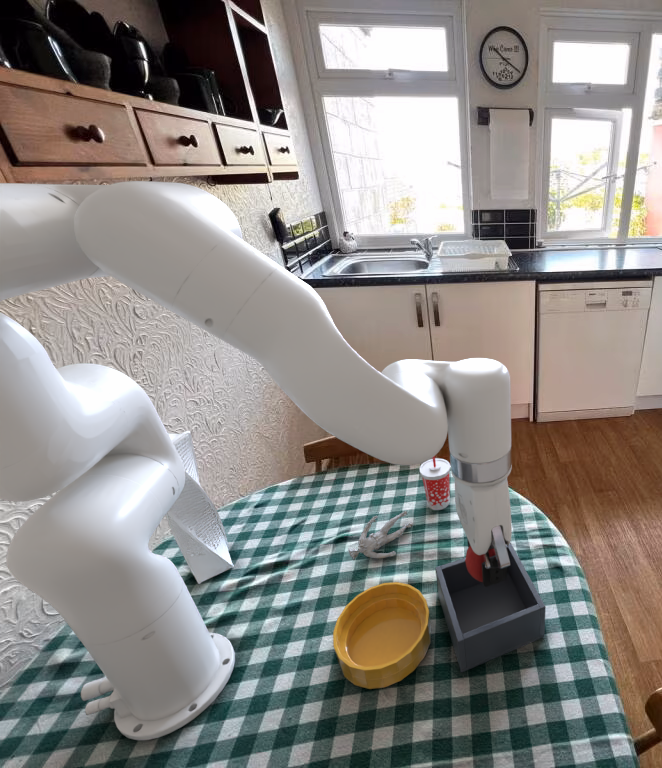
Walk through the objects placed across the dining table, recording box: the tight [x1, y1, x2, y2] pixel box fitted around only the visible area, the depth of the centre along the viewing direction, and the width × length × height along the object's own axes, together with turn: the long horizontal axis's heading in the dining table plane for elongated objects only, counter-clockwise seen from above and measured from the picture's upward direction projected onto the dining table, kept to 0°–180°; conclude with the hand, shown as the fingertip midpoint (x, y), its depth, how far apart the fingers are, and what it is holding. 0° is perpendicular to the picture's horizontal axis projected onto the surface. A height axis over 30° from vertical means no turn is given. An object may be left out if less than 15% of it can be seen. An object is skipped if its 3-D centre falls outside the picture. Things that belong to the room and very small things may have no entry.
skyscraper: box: [164, 430, 235, 585], centre depth 66 cm, size 8×8×28 cm
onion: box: [465, 545, 496, 582], centre depth 58 cm, size 6×6×8 cm
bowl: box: [332, 581, 433, 690], centre depth 59 cm, size 13×13×4 cm
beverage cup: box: [419, 455, 451, 511], centre depth 83 cm, size 6×6×14 cm
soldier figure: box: [347, 510, 414, 561], centre depth 75 cm, size 8×5×12 cm
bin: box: [434, 542, 546, 673], centre depth 62 cm, size 13×13×7 cm
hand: (486, 562), depth 58 cm, fingers closed on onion, 5 cm apart
